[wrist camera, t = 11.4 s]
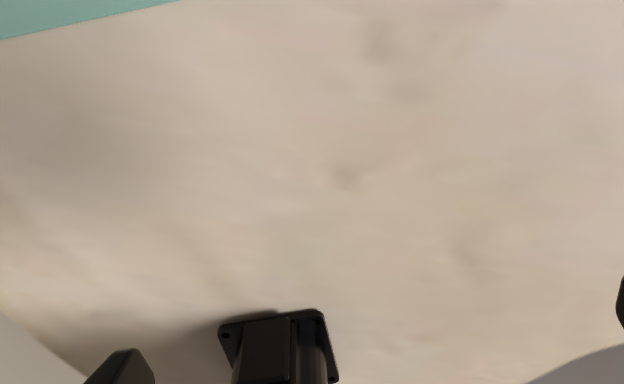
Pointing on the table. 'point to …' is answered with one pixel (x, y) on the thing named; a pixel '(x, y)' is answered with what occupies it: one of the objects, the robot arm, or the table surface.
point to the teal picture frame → (60, 13)
